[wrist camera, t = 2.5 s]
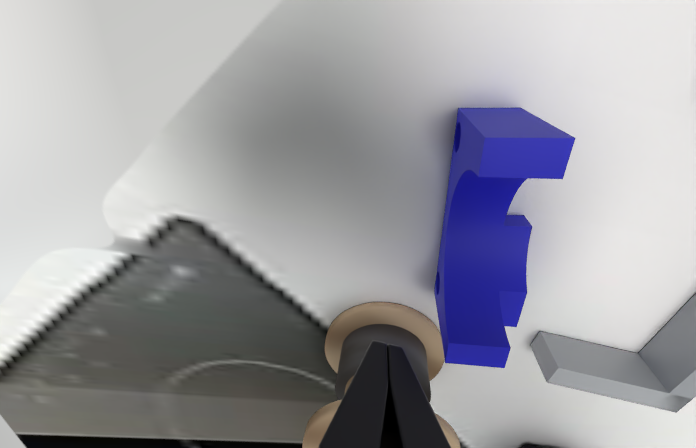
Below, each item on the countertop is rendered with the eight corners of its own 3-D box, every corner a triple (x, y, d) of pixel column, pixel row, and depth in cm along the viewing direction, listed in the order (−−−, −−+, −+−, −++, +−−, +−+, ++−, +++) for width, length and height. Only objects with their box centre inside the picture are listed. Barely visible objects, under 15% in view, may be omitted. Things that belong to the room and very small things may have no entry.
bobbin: (422, 393, 28) (432, 510, 21) (318, 369, 28) (294, 478, 21) (460, 318, 24) (489, 435, 17) (337, 290, 24) (314, 394, 17)
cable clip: (502, 293, 22) (535, 370, 17) (434, 289, 23) (445, 362, 18) (550, 107, 17) (622, 138, 11) (457, 107, 17) (485, 137, 12)
